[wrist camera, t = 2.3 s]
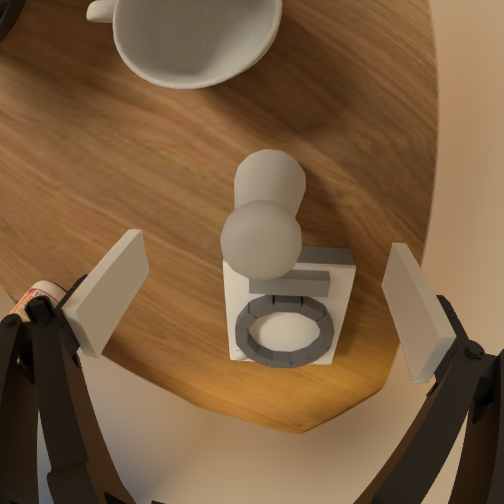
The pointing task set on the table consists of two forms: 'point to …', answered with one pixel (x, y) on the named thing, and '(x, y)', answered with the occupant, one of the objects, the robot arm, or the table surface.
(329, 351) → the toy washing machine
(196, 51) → the teacup
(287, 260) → the bowling pin
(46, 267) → the table surface
